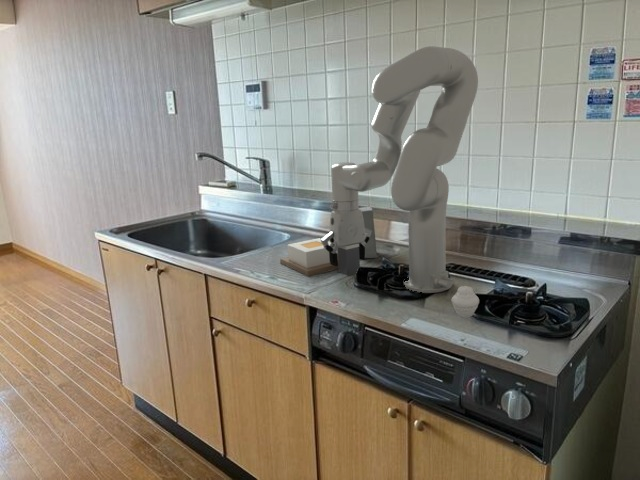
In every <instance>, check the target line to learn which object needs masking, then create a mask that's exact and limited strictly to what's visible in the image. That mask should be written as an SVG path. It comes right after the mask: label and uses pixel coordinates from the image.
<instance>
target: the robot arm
mask: <svg viewBox="0 0 640 480" xmlns="http://www.w3.org/2000/svg"><path fill="white" fill-rule="evenodd" d="M436 86H437V87H441V88H442V90H441V92H440V95H439V96H438V97H437V100H436V101H435V104H434V105H433V108H432V113H431V116H430V118H429V121H428V124H427V125H426V127H423V128H419V129H417V130H415V131H414V132H412V133H411V134H410V135H409V136H408V137H407V138H406V140H405V142H404V143H403V142H402V141H403V140H402V136H403V133H404V130H405V128H406V126H407V123H408V121H409V119H410V117H411V114H412V112H413V110H414V108H415V105H416V103H417V101H418V98H419V95H420V93H421V90H424V89H426V88H429V87H436ZM478 87H479V76H478V71H477V68H476V66H475V64H474V62H473V61H472V60H471V59H470V58H469V56H468V55H466V54H465V53H463V51H460V50H458V49H455V48H451V47H440V46H425V47H421V48H419V49H416V50H415V51H412V52H411V53H409V54H408V55H406V56H405V57H402V58H400V59H398V60H397V61H395V62H394V63H392V64H390V65H389V66H387V67H385V68H384V69H382V70H381V71H379V73H378V74H376V76H375V78H374V79H373V82H372V85H371V94H372V98H373V99H374V101H376V102H377V103H378V106H377V107H376V111H375V114H374V116H373V118H372V121H371V130H373V131H374V133H376V134H377V136H378V139H379V141H378V142H379V144H378V148H377V151H376V153H375V156H374V158H373V160H372V161H368V162H363V163H359V164H356V163H354V162H351V161H350V162H346V161H345V162H337V163H333V164H332V165H331V169H330V173H331V191H332V192H331V193H332V195H331V196H332V201H331V203H330V204H329V209H331V210H332V211H331V212H330V219H329V230H328V231H329V233H326V235H324V236H323V237H322V238H321V243H322V244H323V246H324V248H325V249H326V250H327V251H328V252H329V258H330V264H331V265H333V266H338V254H337V253H336V251H337V249H338V247H339V246H340V247H343V246H347V245H352V244H356V243H359V258H360V260H361V261H365V259H366V258H365V247H366V246H367V242H368V241H369V237H370V235H371V232H372V231H371V230H369V229H366V228H365V227H364V219H363V214H362V211H361V209H359V208H360V206H359V205H360V203H359V202H360V201H359V192H360V193H362V192H368V191H371V190H374V189H377V188H380V187H384V186H385V185H387V184H388V183H389V181H391V179H392V177H393V179H392V181H391V182H392V183H391V188H390V191H391V192H390V194H391V198H392V201H393V202H394V204H395V205H396V206H397V208H399V209H401V210H402V211H406V212H409V213H408V220H407V221H408V227H407V228H408V266H409V267H408V271H409V273H408V275H409V276H408V277H409V280H408V281H405V282H404V281H403V286H404V285H405V287H406V288H405V287H404V288H405V289H407V290H408V289H409V290H408V291H411V290H412V291H411V292H414V291H417V292H416V293H420V292H422V294H435V293H441V292H445V291H447V290H449V289H451V288H452V285H455V282H456V281H455V279H454V278H452V277H451V278H450V277H449V271H448V270H446V262H447V261H446V259H447V258H446V250H447V249H446V230H447V229H446V227H447V225H446V224H447V221H446V220H447V217H446V216H447V205H448V198H449V192H450V191H449V190H450V189H449V186H450V185H449V181H448V177H447V176H446V174H445V173H444V172H443V171H442V170H441V169H438V168H437V167H441V166H444V165H446V164H448V163H451V162H452V160H454V158H455V157H456V155H457V152H458V149H459V147H460V143H461V139H462V137H463V134H464V132H465V128H466V126H467V122H468V119H469V116H470V113H471V111H472V107H473V105H474V102H475V100H476V99H475V98H476V95H477V94H478V93H477V91H478ZM402 144H403V146H402ZM328 241H330V242H331V244H330V246H329V244H328Z"/></svg>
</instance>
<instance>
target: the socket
mask: <svg viewBox="0 0 640 480" xmlns="http://www.w3.org/2000/svg"><path fill="white" fill-rule="evenodd" d="M321 239H322V238H320V237H318V238H313V239H307V240H303V241H298V242H294V243H289V244H287V246H286V247H287V256H285V257H282V258H279V260H280V264H282V265H284V266H286V267H288V268H290V269H292V270H294V271H296V272H298V273H300V274H303V275H305V276H306V277H310V276H311V277H312V276H313V275H314V276H315V275H318V274H321V273H326V272H331V271H335V270H339V266H333V265H331V264H330V258H329V252H328V251H327V250H326V249H325V248H324V246H318V247H314V248H307V247H304V246H302V245H303V244H308V243H313V242H318V243H321ZM321 244H322V243H321ZM328 244H329V246H330V244H331V242H330V240H329V241H328ZM336 253H337V254H338V249H337V251H336Z"/></svg>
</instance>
